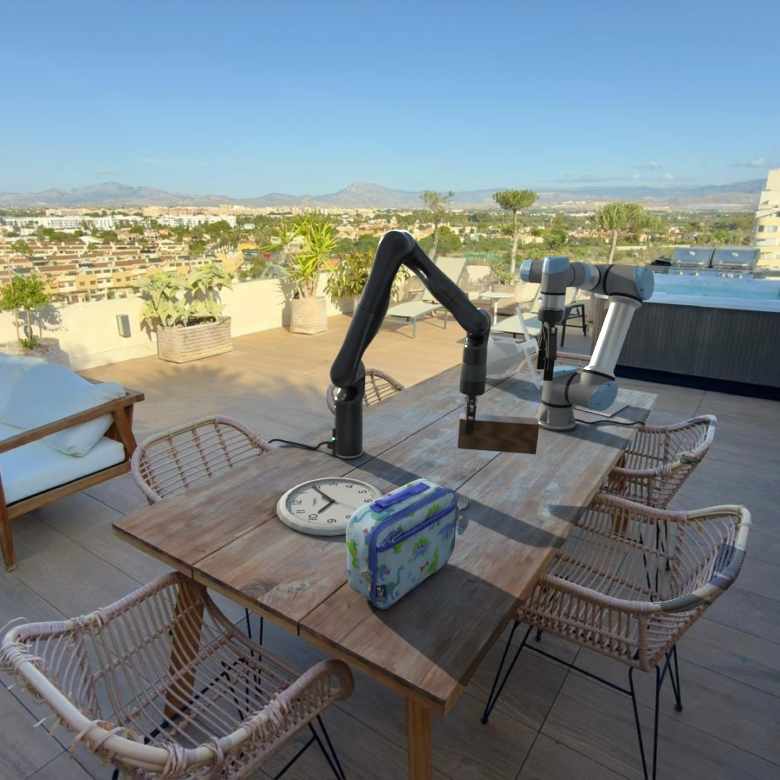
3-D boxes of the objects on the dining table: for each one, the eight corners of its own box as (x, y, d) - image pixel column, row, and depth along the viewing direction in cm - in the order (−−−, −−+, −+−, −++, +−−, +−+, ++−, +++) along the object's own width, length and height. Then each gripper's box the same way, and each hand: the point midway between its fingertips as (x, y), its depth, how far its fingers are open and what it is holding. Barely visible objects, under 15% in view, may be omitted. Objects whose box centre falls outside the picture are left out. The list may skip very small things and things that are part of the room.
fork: (445, 528, 132) (446, 521, 132) (459, 499, 147) (460, 493, 146) (455, 530, 132) (456, 523, 131) (468, 501, 146) (469, 494, 145)
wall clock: (392, 527, 129) (268, 531, 127) (391, 533, 130) (269, 537, 127) (383, 473, 158) (282, 475, 155) (383, 478, 158) (282, 480, 156)
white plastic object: (486, 418, 266) (465, 396, 241) (467, 346, 288) (447, 318, 263) (557, 395, 254) (543, 368, 229) (531, 321, 276) (517, 290, 251)
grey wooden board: (608, 416, 214) (573, 407, 224) (608, 416, 214) (573, 408, 224) (628, 404, 229) (594, 396, 238) (628, 405, 229) (594, 397, 238)
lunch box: (375, 622, 100) (376, 527, 94) (339, 595, 108) (338, 505, 101) (459, 565, 118) (465, 481, 112) (424, 545, 125) (427, 465, 119)
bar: (533, 447, 161) (536, 418, 158) (535, 454, 156) (539, 424, 153) (457, 441, 164) (459, 412, 161) (457, 448, 158) (459, 419, 155)
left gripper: (460, 370, 161) (456, 421, 166) (460, 383, 148) (456, 438, 153) (484, 371, 160) (480, 423, 165) (487, 385, 147) (482, 440, 152)
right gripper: (533, 302, 173) (527, 364, 179) (545, 314, 149) (537, 385, 156) (556, 303, 172) (549, 365, 179) (572, 315, 149) (563, 386, 155)
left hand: (468, 430), depth 159 cm, fingers closed on bar, 5 cm apart
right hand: (544, 374), depth 167 cm, fingers open, 13 cm apart
